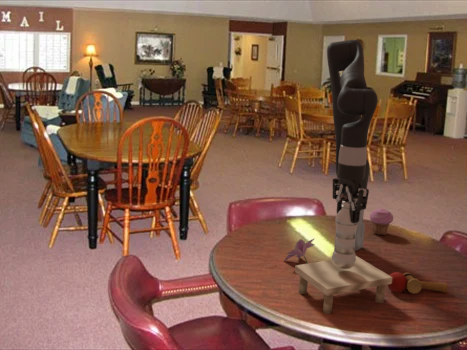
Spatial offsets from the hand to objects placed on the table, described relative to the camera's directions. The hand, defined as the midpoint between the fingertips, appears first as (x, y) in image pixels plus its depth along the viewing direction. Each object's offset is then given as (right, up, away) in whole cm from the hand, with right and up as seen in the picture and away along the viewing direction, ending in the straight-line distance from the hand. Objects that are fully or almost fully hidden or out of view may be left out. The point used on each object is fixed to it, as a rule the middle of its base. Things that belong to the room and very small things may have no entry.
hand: (347, 218), depth 161 cm
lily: (-10, -17, +30) cm, 36 cm away
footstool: (-1, -23, +6) cm, 24 cm away
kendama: (+23, -23, +11) cm, 34 cm away
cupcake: (+25, -11, +61) cm, 67 cm away
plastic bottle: (-1, -14, +4) cm, 15 cm away
